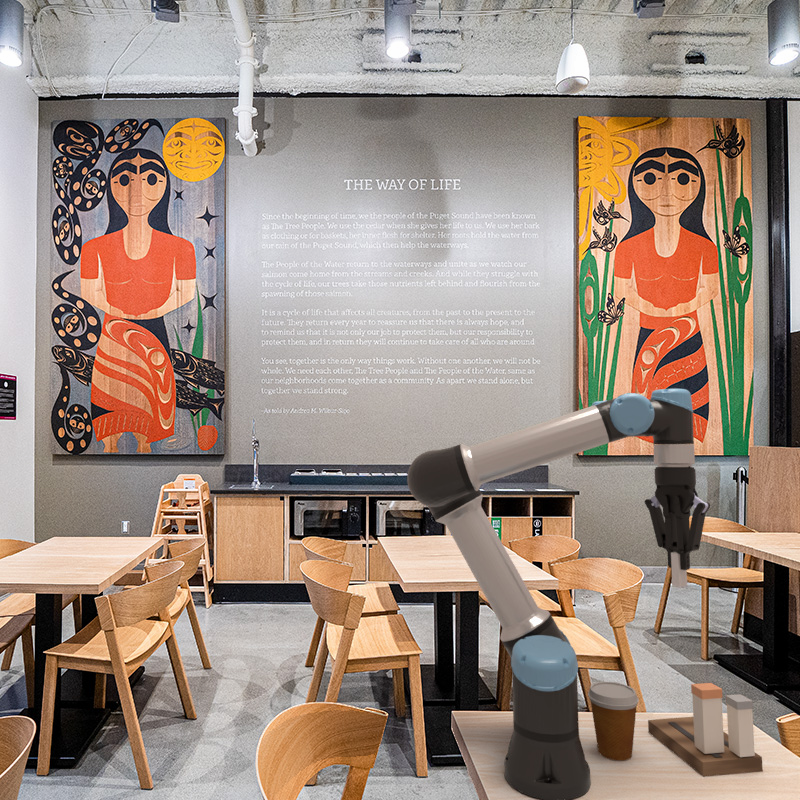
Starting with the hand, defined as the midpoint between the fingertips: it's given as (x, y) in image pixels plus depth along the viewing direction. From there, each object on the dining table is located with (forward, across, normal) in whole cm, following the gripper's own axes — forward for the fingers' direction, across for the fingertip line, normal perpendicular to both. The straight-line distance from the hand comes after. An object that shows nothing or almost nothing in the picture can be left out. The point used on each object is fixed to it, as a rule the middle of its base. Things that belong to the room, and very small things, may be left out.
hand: (679, 585), depth 121 cm
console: (+32, 0, -5) cm, 33 cm away
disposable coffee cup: (+33, +9, +10) cm, 35 cm away
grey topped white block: (+30, -8, -5) cm, 31 cm away
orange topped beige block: (+30, -4, -1) cm, 30 cm away
